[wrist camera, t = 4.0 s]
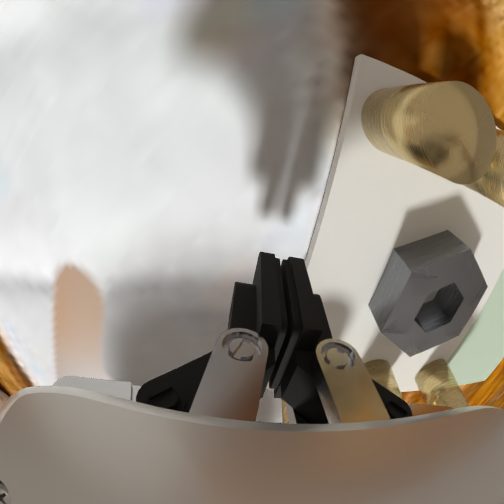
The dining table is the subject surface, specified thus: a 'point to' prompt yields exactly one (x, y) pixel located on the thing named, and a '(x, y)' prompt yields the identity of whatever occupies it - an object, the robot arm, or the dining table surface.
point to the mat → (399, 241)
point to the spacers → (442, 164)
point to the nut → (427, 292)
